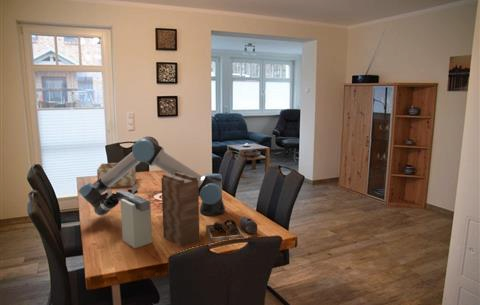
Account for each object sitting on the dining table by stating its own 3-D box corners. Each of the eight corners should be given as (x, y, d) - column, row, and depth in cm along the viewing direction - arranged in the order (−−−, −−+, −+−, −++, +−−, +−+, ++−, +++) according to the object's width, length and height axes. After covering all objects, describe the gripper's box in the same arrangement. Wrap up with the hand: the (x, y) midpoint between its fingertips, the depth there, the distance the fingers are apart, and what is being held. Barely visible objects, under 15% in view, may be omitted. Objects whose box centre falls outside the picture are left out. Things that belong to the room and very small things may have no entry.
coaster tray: (235, 228, 185) (235, 222, 184) (243, 241, 169) (243, 235, 168) (206, 230, 181) (206, 225, 181) (211, 244, 165) (211, 238, 164)
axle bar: (116, 198, 175) (116, 191, 175) (124, 197, 178) (123, 189, 177) (141, 211, 157) (141, 202, 156) (149, 209, 159) (149, 201, 159)
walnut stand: (163, 237, 173) (161, 174, 168) (180, 231, 180) (178, 171, 175) (182, 247, 162) (180, 180, 157) (199, 241, 169) (198, 177, 163)
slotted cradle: (122, 240, 169) (120, 199, 166) (139, 235, 175) (137, 195, 172) (134, 248, 161) (132, 205, 157) (152, 242, 167) (150, 201, 163)
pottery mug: (233, 229, 184) (237, 218, 180) (234, 243, 177) (239, 233, 172) (210, 225, 181) (215, 214, 177) (210, 240, 174) (215, 228, 169)
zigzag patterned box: (135, 178, 292) (135, 162, 289) (134, 185, 270) (133, 167, 267) (102, 180, 286) (101, 163, 283) (98, 187, 264) (97, 169, 261)
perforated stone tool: (237, 226, 187) (237, 213, 186) (246, 224, 189) (246, 212, 188) (248, 236, 174) (248, 223, 173) (258, 235, 176) (258, 221, 175)
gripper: (133, 203, 194) (149, 191, 179) (87, 213, 177) (101, 201, 162) (129, 190, 196) (145, 177, 181) (83, 199, 179) (96, 186, 164)
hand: (124, 188), depth 171 cm, fingers open, 13 cm apart
